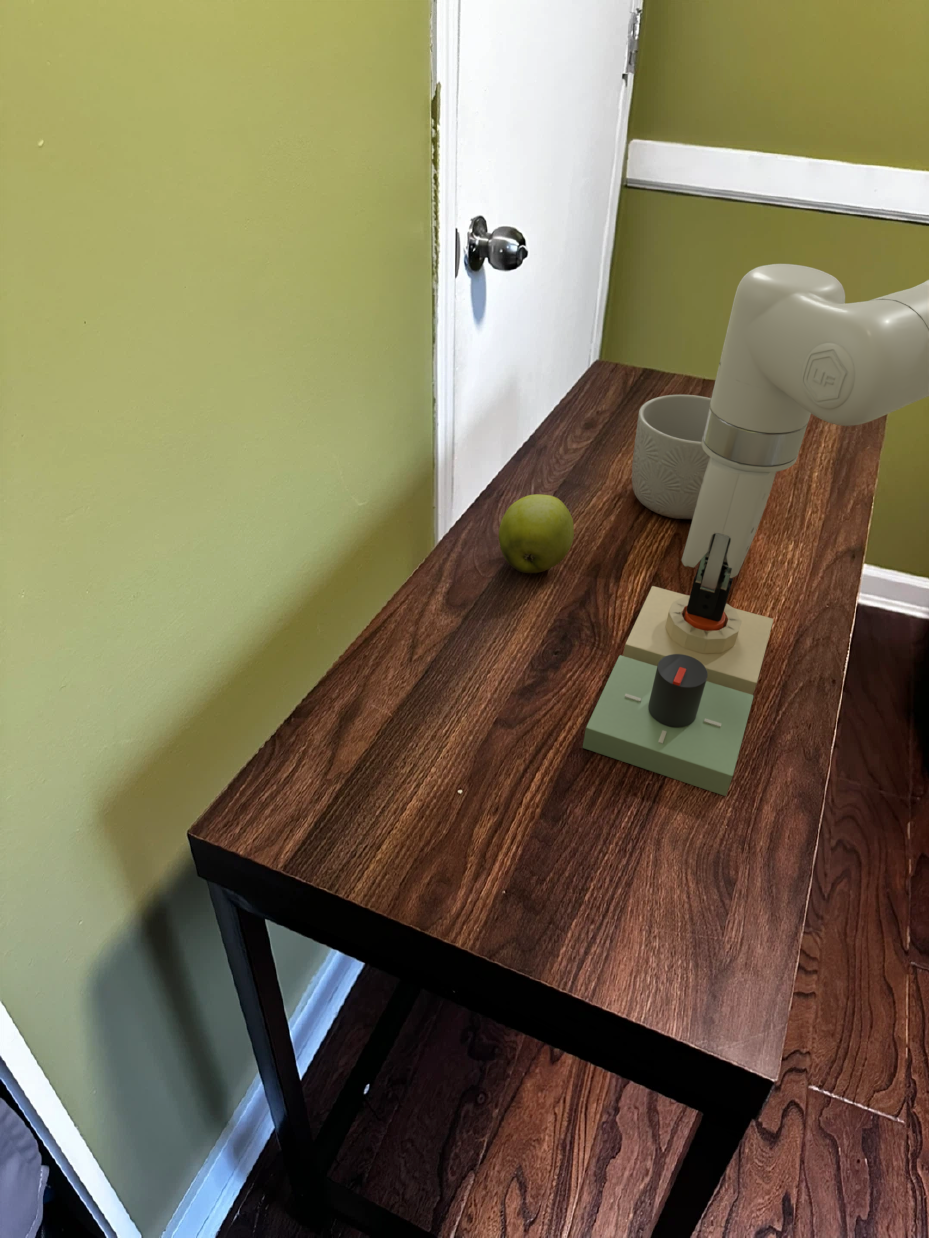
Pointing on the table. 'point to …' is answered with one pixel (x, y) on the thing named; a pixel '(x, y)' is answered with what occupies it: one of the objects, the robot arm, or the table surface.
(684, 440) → the planter
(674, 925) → the table surface
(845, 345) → the robot arm
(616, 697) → the dial base
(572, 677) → the table surface
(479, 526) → the table surface
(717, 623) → the stop button
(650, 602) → the button base
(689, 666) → the dial
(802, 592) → the table surface
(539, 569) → the apple
